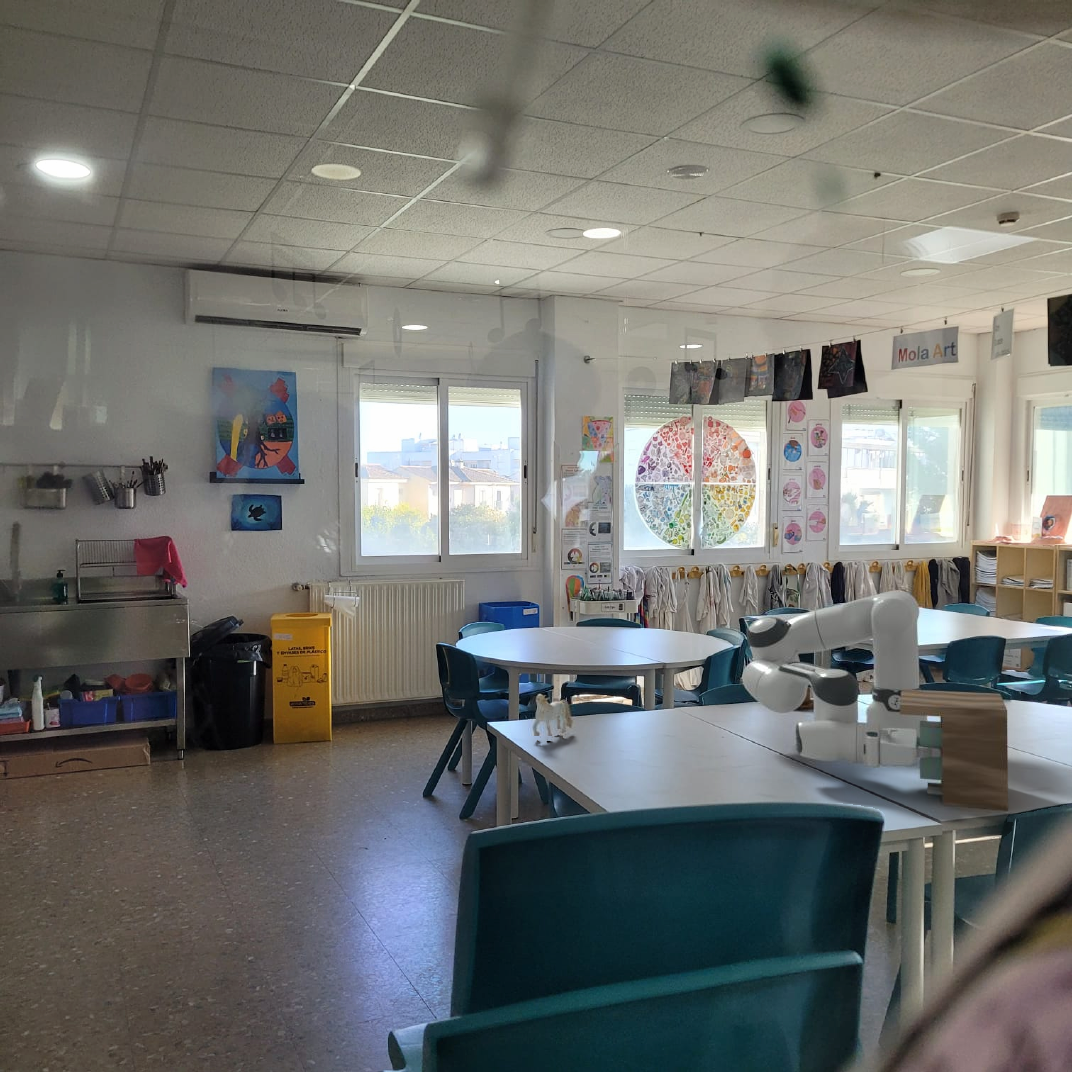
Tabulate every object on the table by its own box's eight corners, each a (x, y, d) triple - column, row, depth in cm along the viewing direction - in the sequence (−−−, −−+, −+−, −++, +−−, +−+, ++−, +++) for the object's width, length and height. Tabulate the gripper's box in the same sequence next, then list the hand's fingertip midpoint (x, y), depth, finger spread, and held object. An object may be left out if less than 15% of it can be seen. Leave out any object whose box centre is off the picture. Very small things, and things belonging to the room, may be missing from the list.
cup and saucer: (781, 703, 314) (780, 683, 313) (820, 705, 309) (820, 685, 309) (775, 710, 302) (774, 690, 302) (815, 712, 298) (815, 692, 298)
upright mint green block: (920, 771, 214) (919, 720, 214) (952, 773, 212) (951, 722, 212) (920, 778, 208) (919, 726, 208) (952, 781, 206) (952, 728, 206)
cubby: (902, 778, 221) (901, 689, 221) (1000, 785, 214) (1000, 693, 214) (900, 801, 204) (899, 704, 203) (1007, 810, 196) (1007, 710, 196)
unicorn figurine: (524, 747, 257) (523, 696, 257) (549, 732, 275) (549, 684, 275) (550, 749, 255) (549, 697, 254) (574, 733, 273) (573, 685, 273)
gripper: (873, 747, 224) (939, 751, 219) (869, 769, 205) (941, 774, 200) (873, 719, 224) (939, 723, 219) (869, 739, 205) (941, 743, 200)
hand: (940, 748), depth 210 cm, fingers closed on upright mint green block, 6 cm apart
